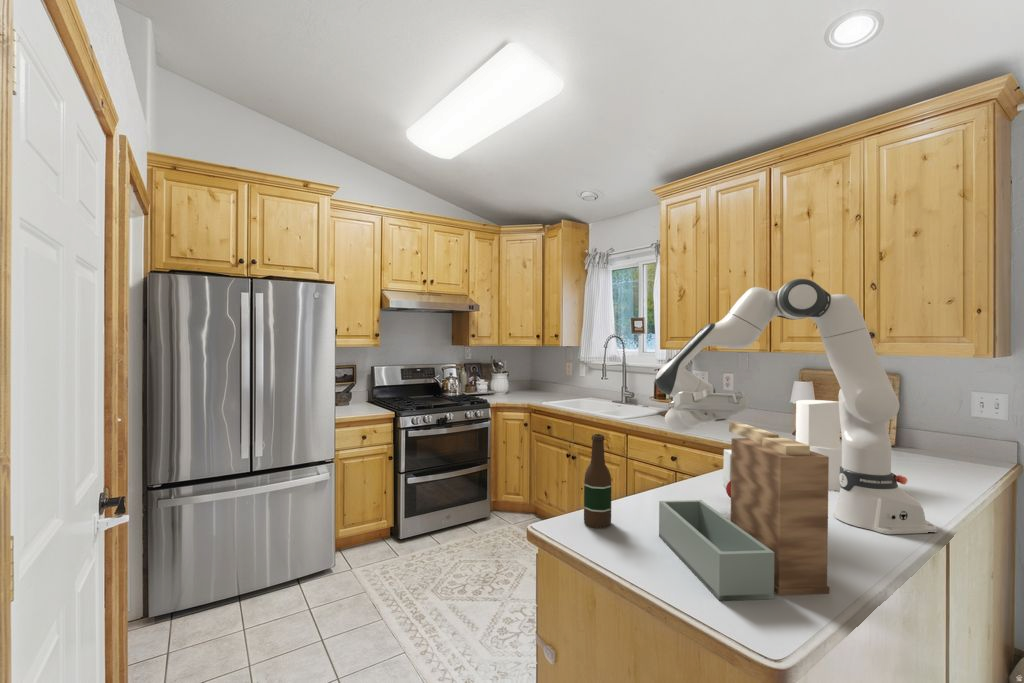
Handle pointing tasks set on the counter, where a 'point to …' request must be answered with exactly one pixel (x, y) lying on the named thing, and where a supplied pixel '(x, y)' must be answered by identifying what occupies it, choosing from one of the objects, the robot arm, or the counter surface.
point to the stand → (784, 511)
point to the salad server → (769, 439)
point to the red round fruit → (728, 489)
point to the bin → (717, 551)
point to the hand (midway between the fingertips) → (725, 393)
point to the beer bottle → (597, 487)
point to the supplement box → (727, 467)
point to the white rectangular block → (821, 433)
